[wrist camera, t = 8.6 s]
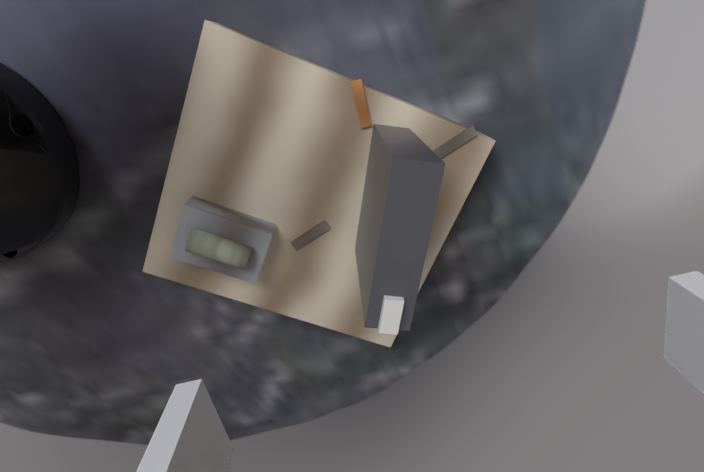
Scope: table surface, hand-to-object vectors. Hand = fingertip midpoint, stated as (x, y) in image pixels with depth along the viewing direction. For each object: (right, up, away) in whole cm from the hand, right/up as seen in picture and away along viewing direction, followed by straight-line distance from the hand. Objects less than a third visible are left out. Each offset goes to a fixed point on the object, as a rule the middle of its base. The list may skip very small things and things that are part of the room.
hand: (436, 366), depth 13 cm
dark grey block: (0, +7, +19) cm, 20 cm away
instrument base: (-5, +7, +22) cm, 23 cm away
